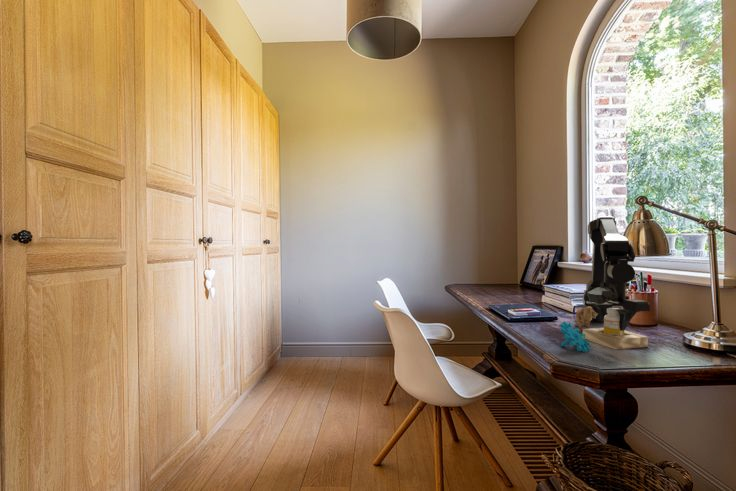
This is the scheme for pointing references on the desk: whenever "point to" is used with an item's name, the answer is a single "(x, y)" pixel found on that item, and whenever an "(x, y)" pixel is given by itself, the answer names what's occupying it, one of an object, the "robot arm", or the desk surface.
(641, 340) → the beige square frame
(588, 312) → the lion figurine
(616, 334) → the supplement bottle
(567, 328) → the teal lumpy piece
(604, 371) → the desk surface
